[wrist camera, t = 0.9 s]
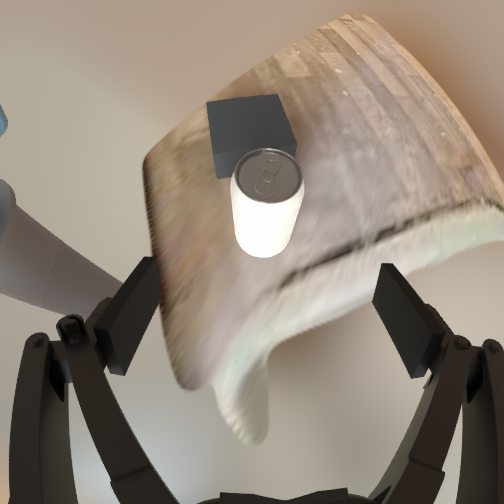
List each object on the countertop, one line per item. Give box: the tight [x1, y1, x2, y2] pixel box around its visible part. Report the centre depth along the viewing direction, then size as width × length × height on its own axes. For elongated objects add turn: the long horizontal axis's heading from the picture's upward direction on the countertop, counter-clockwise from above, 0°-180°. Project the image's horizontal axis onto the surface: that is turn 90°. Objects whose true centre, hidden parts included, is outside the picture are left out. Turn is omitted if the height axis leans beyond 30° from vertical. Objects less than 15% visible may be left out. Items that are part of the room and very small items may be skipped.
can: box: [230, 148, 305, 257], centre depth 29 cm, size 6×6×12 cm
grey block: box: [206, 94, 297, 179], centre depth 37 cm, size 10×10×5 cm
